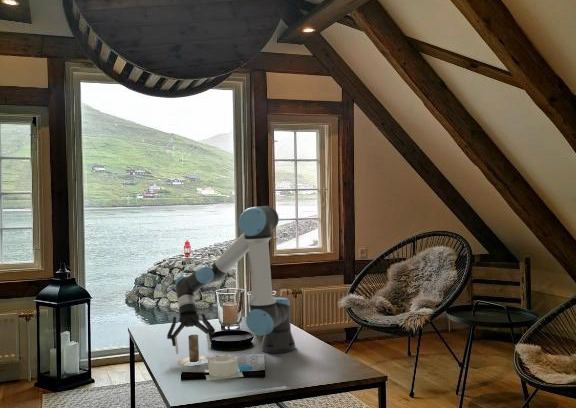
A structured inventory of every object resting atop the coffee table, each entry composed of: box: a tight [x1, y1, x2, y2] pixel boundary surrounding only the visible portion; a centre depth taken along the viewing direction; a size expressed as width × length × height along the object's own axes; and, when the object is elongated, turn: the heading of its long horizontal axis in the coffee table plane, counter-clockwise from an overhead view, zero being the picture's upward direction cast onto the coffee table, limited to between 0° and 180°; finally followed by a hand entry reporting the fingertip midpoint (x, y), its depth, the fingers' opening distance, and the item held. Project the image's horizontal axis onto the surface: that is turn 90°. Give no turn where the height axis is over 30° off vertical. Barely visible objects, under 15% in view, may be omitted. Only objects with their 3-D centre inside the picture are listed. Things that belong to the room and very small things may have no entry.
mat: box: [205, 371, 244, 381], centre depth 224 cm, size 14×14×1 cm
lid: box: [176, 334, 210, 367], centre depth 240 cm, size 14×14×12 cm
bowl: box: [207, 353, 239, 378], centre depth 224 cm, size 11×11×6 cm
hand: (193, 350), depth 239 cm, fingers open, 13 cm apart
